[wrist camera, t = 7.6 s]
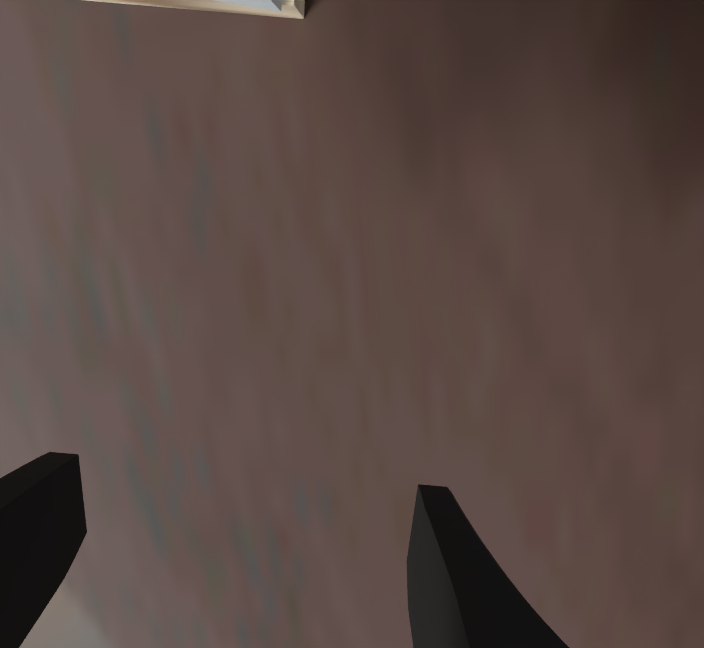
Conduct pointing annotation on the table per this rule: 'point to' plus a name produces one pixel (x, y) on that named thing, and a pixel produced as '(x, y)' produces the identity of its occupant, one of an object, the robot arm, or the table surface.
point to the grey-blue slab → (258, 4)
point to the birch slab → (222, 6)
